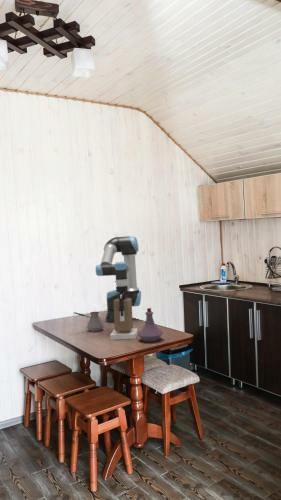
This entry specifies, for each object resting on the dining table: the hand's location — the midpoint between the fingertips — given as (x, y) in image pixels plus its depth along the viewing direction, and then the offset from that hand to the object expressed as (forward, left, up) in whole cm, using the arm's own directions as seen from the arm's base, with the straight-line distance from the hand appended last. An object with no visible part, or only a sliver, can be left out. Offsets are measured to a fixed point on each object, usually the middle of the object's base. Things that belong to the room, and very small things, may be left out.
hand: (123, 319), depth 286 cm
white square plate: (0, 0, -11) cm, 11 cm away
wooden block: (0, 0, -7) cm, 7 cm away
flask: (+12, +18, -12) cm, 25 cm away
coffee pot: (-16, -27, -12) cm, 33 cm away
